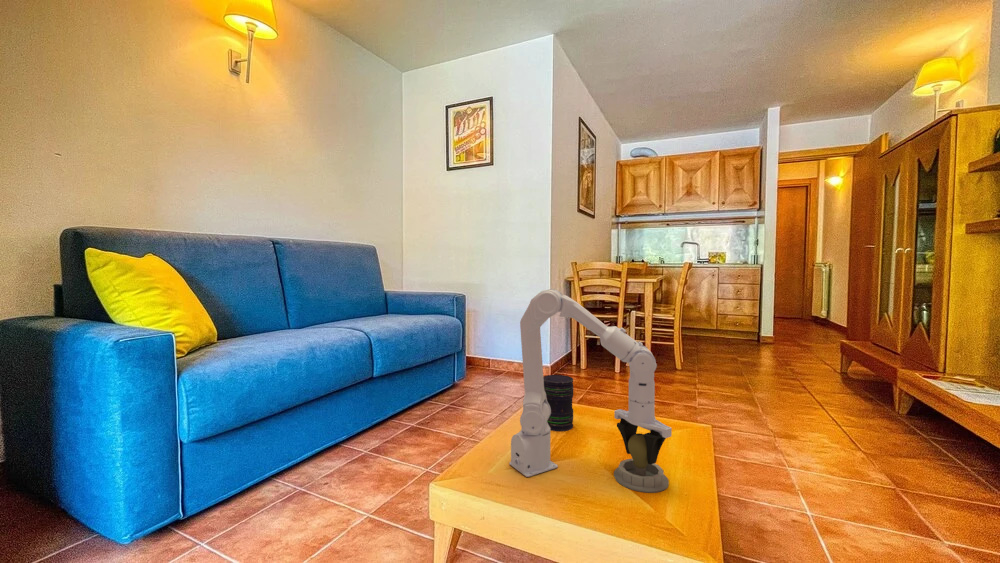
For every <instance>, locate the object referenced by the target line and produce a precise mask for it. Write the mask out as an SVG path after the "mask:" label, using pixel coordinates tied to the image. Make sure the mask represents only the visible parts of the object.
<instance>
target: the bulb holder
mask: <svg viewBox="0 0 1000 563" xmlns="http://www.w3.org/2000/svg"><path fill="white" fill-rule="evenodd" d="M613 476H614V477H615V478H614V479H616V480H615V481H616V482H617V483H618V484H619V485H621V486H622V487H624V488H626V489H629V490H632V491H634V492H640V493H647V494H653V493H654V494H655V493H660V492H663V491H666V490H667V489H668V487H669V485H670V484H669V478H668V476H666V475H665V473H664V470H663V468H662V467H661V466H660V465H659V464H657V463H654V464H651V465H650V464H648V465H647V467H646V476H639V475H636V474H635V465H634V463H633V459H632V458H628V459H623V460H622V461H620V462H619V464H618V467H617V468H615V470H614V471H613Z"/></svg>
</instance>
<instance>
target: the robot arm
mask: <svg viewBox="0 0 1000 563" xmlns="http://www.w3.org/2000/svg"><path fill="white" fill-rule="evenodd" d="M558 313H559V317H561V318H571V319H574V320H575V321H576V322H578V323H579V324H580V325H582V326H583V327H585V328H586V329H587V330H589V331H590V332H592V333H593V334H594V335H596V336H597V337H599V341H600V345H601V346H602V347H603V348H604V349H606V350H607V351H608V352H609V353H610V354H612V355H614V356H615V357H616V358H617V359H619V360H620V361H621V362H622V363H627V364H628V367H629V378H628V410H624V409H616V410H614V419H616V420H619V422H617V423H616V428H617V429H618V431H619V433H620V435H621V437H622V441H623V444H624V447H625V450H626V451H625V452H626V454H627V455H631V454H630V452H629V449H628V441H629V439H630V437H631V436H633V435H634V434H637V431H638V427H640V428H641V429H645V430H647V431H649V432H646V433H643V434H644V438H645V441H646V446H647V460H648V464H650V465H651V464H654V463H655V464H657V460H658V458H659V457H658V456H659V454H660V451H661V448H662V445H663V444H664V442H665V441H666V439H668V438H671V437H672V427H671V426H668V425H666V424H664V423H662V422H661V421H659V420H657V419H656V415H655V408H656V407H655V397H656V396H655V394H656V390H655V389H656V388H655V387H656V385H655V384H656V382H655V380H654V379H655V371H656V369H657V366H658V364H657V363H656V362H657V360H656V358H655V356H654V355H653V352H652V351H651V350H650V349H648V347H647V346H645V345H643V342H642V341H636V339H634V338H633V337H631V336H630V335H629V334H627V333H626V331H627V330H626V329H625V328H623V327H618V326H615V325H612V326H608V325H607V324H605V323H603V322H602V321H601V320H600V319H598V317H596V316H595V315H594V314H593V313H591V312H590V311H589V310H588V309H586V308H585V307H583V306H582V305H581V304H580V303H579V302H577V301H576V300H574V299H573V298H571V297H570V296H568V295H566V294H563V293H562V292H561V291H559V290H558V289H555V288H549V289H545V290H542V291H540V292H538V293H537V294H536V295H535V296H534V297H533V298H531V299H530V302H529V304H528V306H527V307H526V310H525V312H524V313H523V315H522V317H521V318H520V322H519V323H520V325H519V326H520V342H521V356H522V369H523V370H522V372H523V374H522V375H523V386H524V387H523V388H524V395H523V396H524V397H523V400H522V401H523V402H522V413H521V415H520V418H519V423H520V428H521V429H520V431H519V432H516V433H515V434H513V435H512V436H511V441H510V461H509V463H508V464H509V466H511V467H513V468H514V469H515V470H517V471H518V472H520V473H521V474H522V475H523V476H525V477H526V478H529V477H532V476H536V475H539V474H542V473H545V472H548V471H551V470H554V469H558V466H559V465H558V464H556V463H555V462H554V461H552V460H551V430H550V427H549V425H548V422H547V420H548V418H549V417H550V414H551V408H550V405H549V404H548V402H547V399H546V393H545V390H544V379H543V377H544V365H543V354H542V352H543V351H542V337H541V327H542V326H543V325H544V324H545V323H546V322H547V320H548V319H550V318H551V317H553V316H555V315H557V314H558Z"/></svg>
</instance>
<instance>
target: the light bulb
mask: <svg viewBox="0 0 1000 563" xmlns="http://www.w3.org/2000/svg"><path fill="white" fill-rule="evenodd" d="M644 434H645V433H636V434H634V435H633V436H631V437H630V439H629V441H628V449H629V452H630V454H629V455H630V456H631V459H633V463H634V465H635V474H636V475H639V476H646V467H647V465H648V460H647V446H646V441H645V438H644Z"/></svg>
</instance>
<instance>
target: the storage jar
mask: <svg viewBox="0 0 1000 563" xmlns="http://www.w3.org/2000/svg"><path fill="white" fill-rule="evenodd" d="M543 379H544V390H545V393H546V399H547V402H548V404H549V405H550V408H551V414H550V417H549V418H548V420H547V422H548V425H549V427H550V432H551V431H552V432H567V431H570V430H572V429H573V428H574V424H573V422H574V409H573V398H574V378H573V377H572V376H569V375H563V374H549V375H548V374H547V375H543Z"/></svg>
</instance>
